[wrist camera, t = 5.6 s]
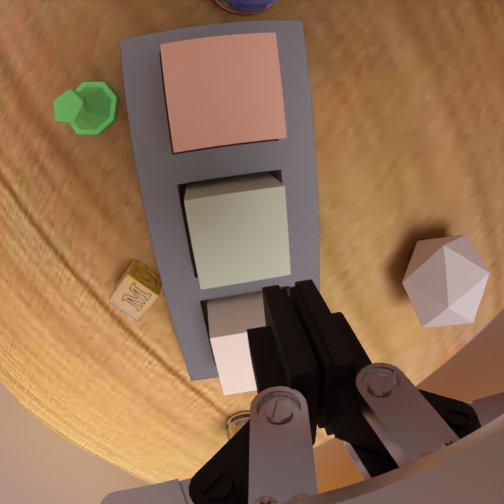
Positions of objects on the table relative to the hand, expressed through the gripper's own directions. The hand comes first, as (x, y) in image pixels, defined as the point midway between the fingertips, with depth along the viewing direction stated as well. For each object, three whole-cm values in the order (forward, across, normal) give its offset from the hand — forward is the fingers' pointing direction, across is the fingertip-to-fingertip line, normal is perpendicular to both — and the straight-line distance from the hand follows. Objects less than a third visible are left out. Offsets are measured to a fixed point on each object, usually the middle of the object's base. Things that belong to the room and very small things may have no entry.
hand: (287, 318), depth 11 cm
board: (+15, +1, +1) cm, 15 cm away
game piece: (+16, +10, -9) cm, 21 cm away
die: (+16, -18, +9) cm, 26 cm away
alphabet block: (+15, +10, +6) cm, 19 cm away
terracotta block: (+13, +1, -8) cm, 16 cm away
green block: (+15, +1, +1) cm, 15 cm away
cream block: (+13, +1, +10) cm, 17 cm away
